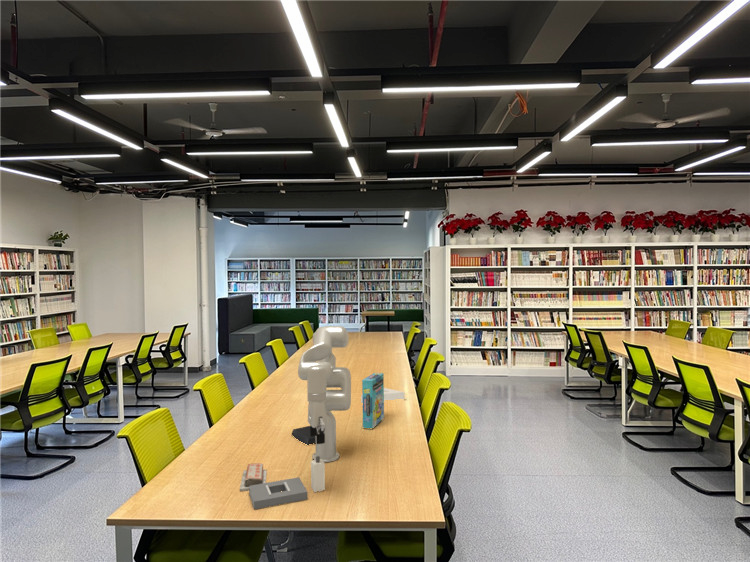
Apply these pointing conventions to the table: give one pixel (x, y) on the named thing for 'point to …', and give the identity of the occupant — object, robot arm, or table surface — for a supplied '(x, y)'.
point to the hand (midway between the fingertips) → (317, 439)
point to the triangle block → (391, 394)
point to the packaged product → (253, 476)
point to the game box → (373, 399)
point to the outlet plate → (277, 493)
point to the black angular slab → (304, 435)
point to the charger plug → (317, 474)
